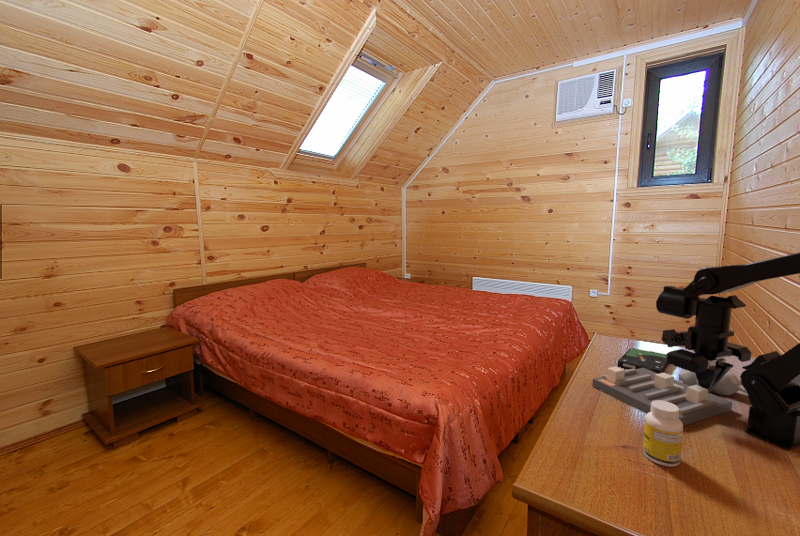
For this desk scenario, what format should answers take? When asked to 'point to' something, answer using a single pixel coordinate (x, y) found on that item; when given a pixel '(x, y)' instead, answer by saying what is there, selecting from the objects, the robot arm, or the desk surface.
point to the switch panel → (660, 395)
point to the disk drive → (643, 360)
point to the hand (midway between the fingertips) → (704, 392)
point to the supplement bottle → (663, 434)
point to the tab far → (615, 374)
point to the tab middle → (663, 381)
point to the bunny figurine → (723, 387)
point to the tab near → (696, 394)
